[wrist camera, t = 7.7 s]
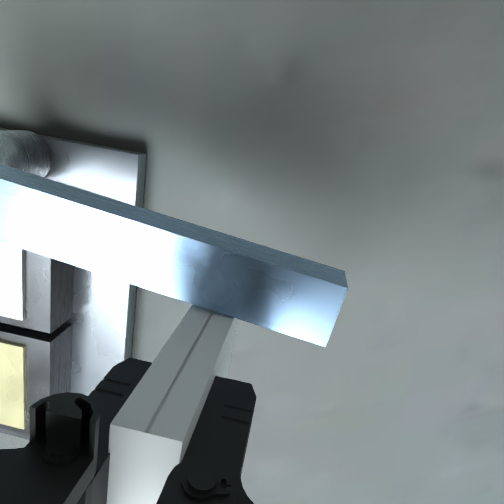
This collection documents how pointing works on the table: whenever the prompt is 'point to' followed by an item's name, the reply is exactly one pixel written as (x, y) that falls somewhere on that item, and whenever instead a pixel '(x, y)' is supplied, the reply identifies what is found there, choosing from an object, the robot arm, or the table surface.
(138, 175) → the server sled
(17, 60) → the table surface
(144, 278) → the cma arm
